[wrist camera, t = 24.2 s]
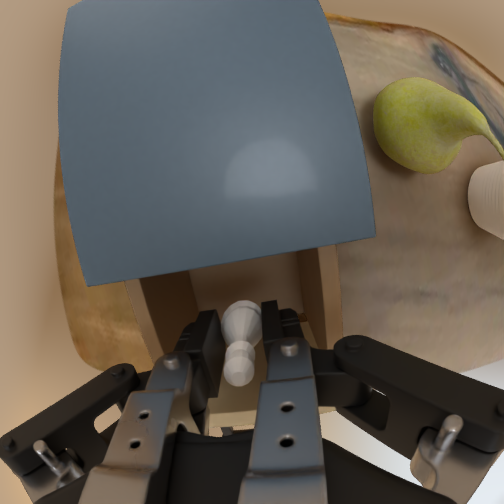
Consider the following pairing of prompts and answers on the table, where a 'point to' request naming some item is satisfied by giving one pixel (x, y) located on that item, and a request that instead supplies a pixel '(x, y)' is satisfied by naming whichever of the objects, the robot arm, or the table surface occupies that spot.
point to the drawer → (229, 292)
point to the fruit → (425, 124)
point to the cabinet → (205, 135)
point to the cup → (488, 198)
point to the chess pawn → (241, 340)
